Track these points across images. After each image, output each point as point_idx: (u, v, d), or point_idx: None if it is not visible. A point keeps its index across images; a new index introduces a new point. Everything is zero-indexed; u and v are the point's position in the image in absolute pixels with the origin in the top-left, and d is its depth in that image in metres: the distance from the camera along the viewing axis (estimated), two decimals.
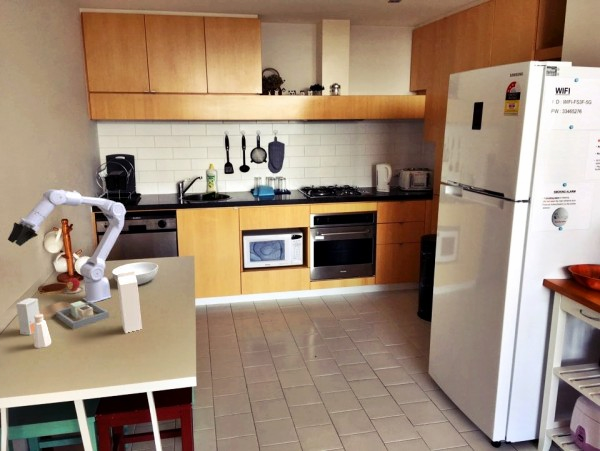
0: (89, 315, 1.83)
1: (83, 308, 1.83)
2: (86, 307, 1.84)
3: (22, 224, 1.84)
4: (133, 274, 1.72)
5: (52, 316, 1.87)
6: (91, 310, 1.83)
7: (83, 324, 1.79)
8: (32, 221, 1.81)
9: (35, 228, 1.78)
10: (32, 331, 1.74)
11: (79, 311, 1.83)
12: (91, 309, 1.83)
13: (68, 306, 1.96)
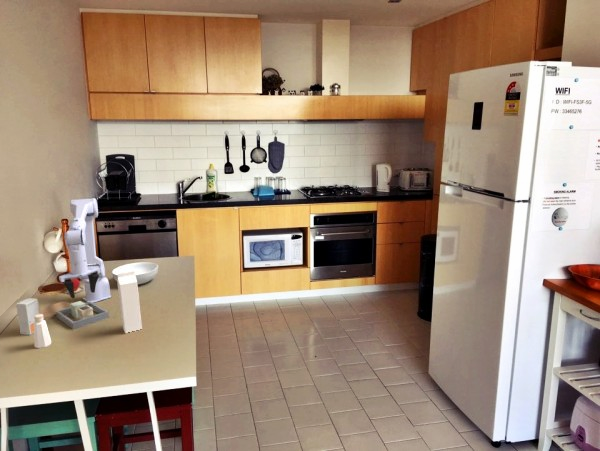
0: (89, 315, 1.83)
1: (83, 308, 1.83)
2: (86, 307, 1.84)
3: (70, 278, 1.78)
4: (133, 274, 1.72)
5: (52, 316, 1.87)
6: (91, 310, 1.83)
7: (83, 324, 1.79)
8: (87, 268, 1.81)
9: None
10: (32, 331, 1.74)
11: (79, 311, 1.83)
12: (91, 309, 1.83)
13: (68, 306, 1.96)
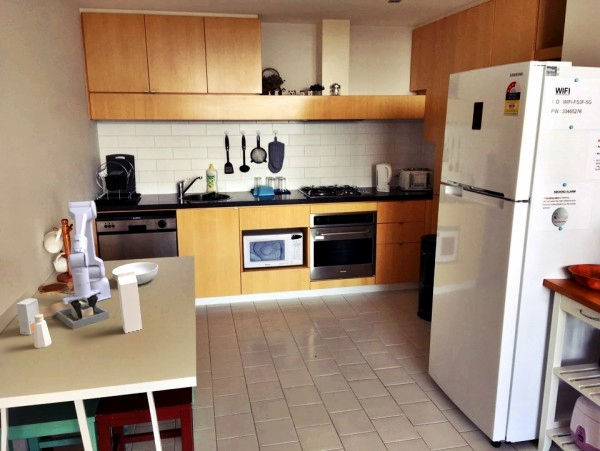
0: (89, 315, 1.83)
1: (83, 308, 1.83)
2: (86, 307, 1.84)
3: (73, 300, 1.80)
4: (133, 274, 1.72)
5: (52, 316, 1.87)
6: (91, 310, 1.83)
7: (83, 324, 1.79)
8: (90, 290, 1.83)
9: None
10: (32, 331, 1.74)
11: None
12: (91, 309, 1.83)
13: (68, 306, 1.96)
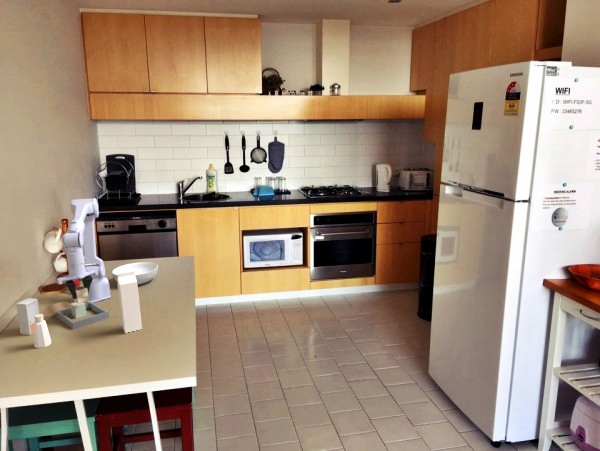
0: (84, 296, 1.82)
1: (78, 289, 1.82)
2: (81, 288, 1.83)
3: (68, 281, 1.79)
4: (133, 274, 1.72)
5: (52, 316, 1.87)
6: (86, 291, 1.82)
7: (83, 324, 1.79)
8: (85, 271, 1.82)
9: None
10: (32, 331, 1.74)
11: None
12: (86, 290, 1.82)
13: (68, 306, 1.96)
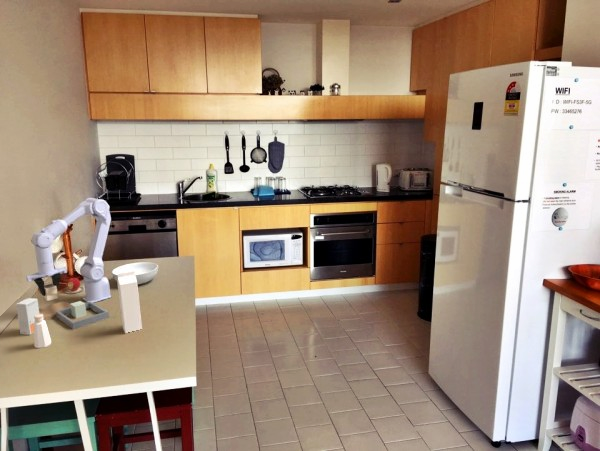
0: (53, 293, 1.90)
1: (47, 286, 1.90)
2: (50, 285, 1.91)
3: (37, 278, 1.86)
4: (133, 274, 1.72)
5: (52, 316, 1.87)
6: (55, 288, 1.90)
7: (83, 324, 1.79)
8: (54, 269, 1.90)
9: None
10: (32, 331, 1.74)
11: None
12: (55, 287, 1.90)
13: (68, 306, 1.96)
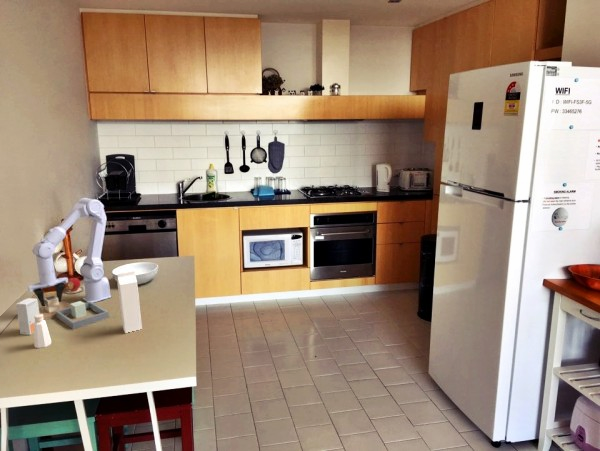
0: (55, 305, 1.91)
1: (49, 298, 1.91)
2: (52, 297, 1.92)
3: (38, 288, 1.87)
4: (133, 274, 1.72)
5: (52, 316, 1.87)
6: (57, 300, 1.91)
7: (83, 324, 1.79)
8: (55, 279, 1.91)
9: None
10: (32, 331, 1.74)
11: (45, 301, 1.91)
12: (57, 299, 1.91)
13: (68, 306, 1.96)
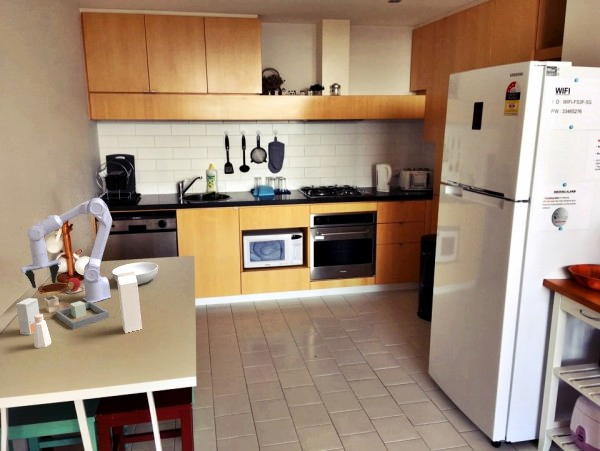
0: (55, 305, 1.91)
1: (49, 298, 1.91)
2: (52, 297, 1.92)
3: (31, 270, 1.93)
4: (133, 274, 1.72)
5: (52, 316, 1.87)
6: (57, 300, 1.91)
7: (83, 324, 1.79)
8: (48, 261, 1.96)
9: None
10: (32, 331, 1.74)
11: (45, 301, 1.91)
12: (57, 299, 1.91)
13: (68, 306, 1.96)
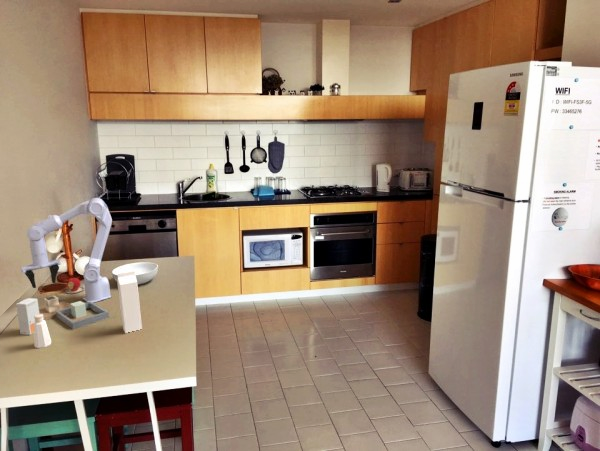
0: (55, 305, 1.91)
1: (49, 298, 1.91)
2: (52, 297, 1.92)
3: (31, 270, 1.93)
4: (133, 274, 1.72)
5: (52, 316, 1.87)
6: (57, 300, 1.91)
7: (83, 324, 1.79)
8: (48, 261, 1.97)
9: None
10: (32, 331, 1.74)
11: (45, 301, 1.91)
12: (57, 299, 1.91)
13: (68, 306, 1.96)
